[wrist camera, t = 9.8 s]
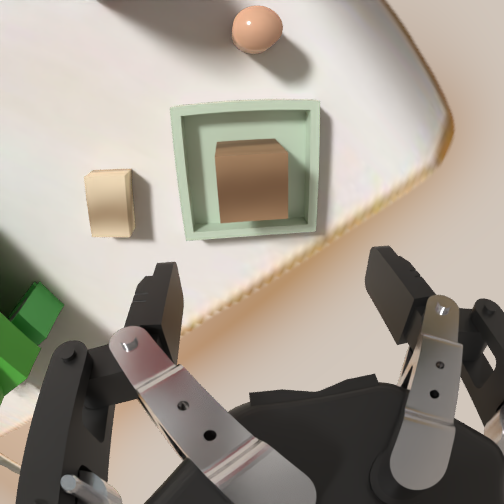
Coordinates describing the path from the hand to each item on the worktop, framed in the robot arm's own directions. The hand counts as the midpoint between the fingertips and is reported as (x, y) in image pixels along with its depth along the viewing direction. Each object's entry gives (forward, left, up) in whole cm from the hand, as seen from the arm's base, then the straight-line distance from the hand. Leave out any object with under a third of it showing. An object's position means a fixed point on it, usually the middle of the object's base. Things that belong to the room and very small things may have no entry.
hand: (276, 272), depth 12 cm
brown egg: (-12, +1, -17) cm, 21 cm away
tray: (0, 0, -17) cm, 17 cm away
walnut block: (0, 0, -17) cm, 17 cm away
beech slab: (+2, -13, -18) cm, 22 cm away
